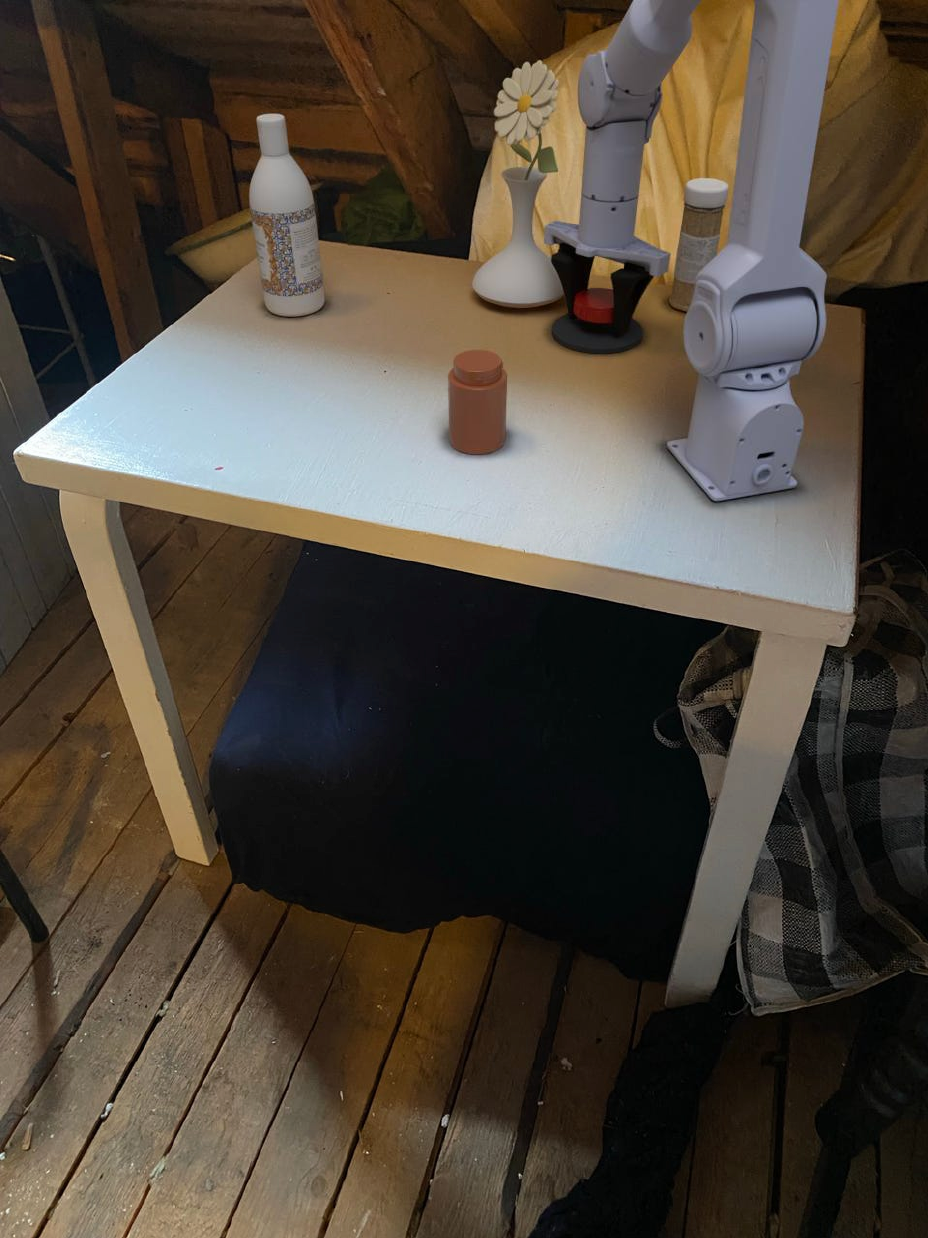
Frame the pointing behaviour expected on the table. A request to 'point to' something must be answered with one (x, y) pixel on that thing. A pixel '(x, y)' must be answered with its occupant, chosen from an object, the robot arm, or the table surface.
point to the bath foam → (284, 226)
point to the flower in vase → (523, 194)
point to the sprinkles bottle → (697, 236)
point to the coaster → (594, 335)
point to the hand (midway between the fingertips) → (597, 323)
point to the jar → (477, 402)
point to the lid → (594, 305)
